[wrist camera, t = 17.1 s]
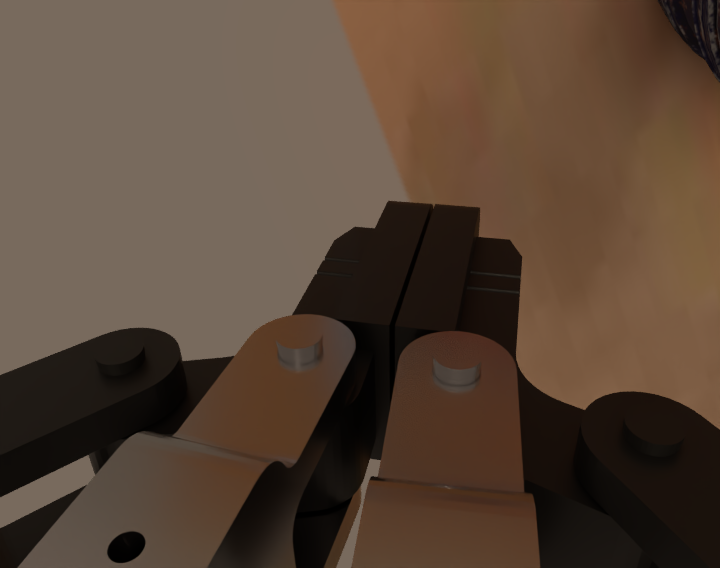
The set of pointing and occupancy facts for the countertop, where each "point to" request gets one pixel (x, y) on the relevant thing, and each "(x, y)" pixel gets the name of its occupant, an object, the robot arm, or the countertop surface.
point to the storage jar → (697, 27)
